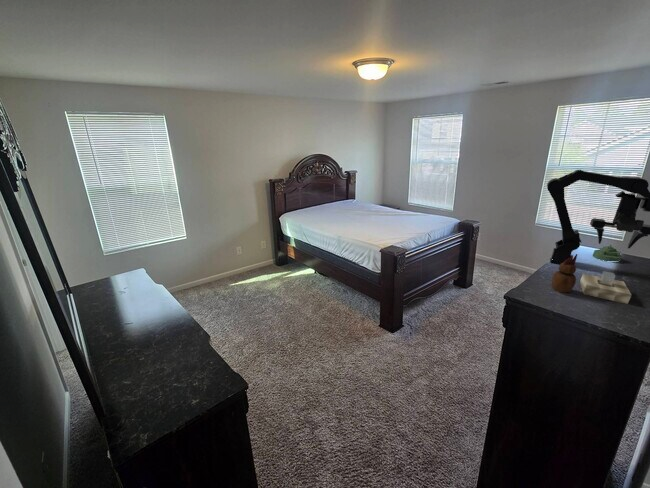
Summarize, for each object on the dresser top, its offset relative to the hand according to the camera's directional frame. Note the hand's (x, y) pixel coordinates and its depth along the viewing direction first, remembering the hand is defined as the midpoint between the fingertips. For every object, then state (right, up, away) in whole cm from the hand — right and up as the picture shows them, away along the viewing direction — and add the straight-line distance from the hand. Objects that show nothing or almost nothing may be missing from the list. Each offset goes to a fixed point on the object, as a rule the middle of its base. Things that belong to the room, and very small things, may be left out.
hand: (613, 245), depth 126 cm
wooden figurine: (-32, -17, -12) cm, 38 cm away
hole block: (-17, -18, -13) cm, 28 cm away
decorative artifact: (+14, -6, +19) cm, 25 cm away
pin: (-17, -18, -13) cm, 28 cm away
